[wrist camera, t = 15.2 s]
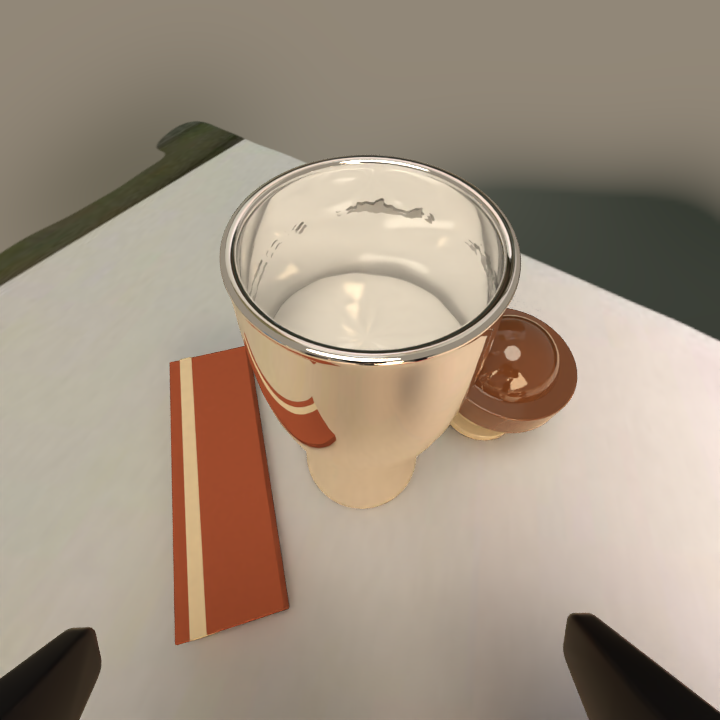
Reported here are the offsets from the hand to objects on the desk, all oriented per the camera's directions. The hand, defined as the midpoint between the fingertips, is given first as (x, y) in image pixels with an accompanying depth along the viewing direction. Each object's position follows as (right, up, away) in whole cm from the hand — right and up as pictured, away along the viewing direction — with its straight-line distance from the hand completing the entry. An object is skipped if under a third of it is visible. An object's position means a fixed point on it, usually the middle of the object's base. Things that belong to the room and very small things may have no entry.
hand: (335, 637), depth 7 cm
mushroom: (+8, +3, +15) cm, 17 cm away
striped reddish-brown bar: (-7, -1, +13) cm, 15 cm away
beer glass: (+1, 0, +14) cm, 14 cm away
